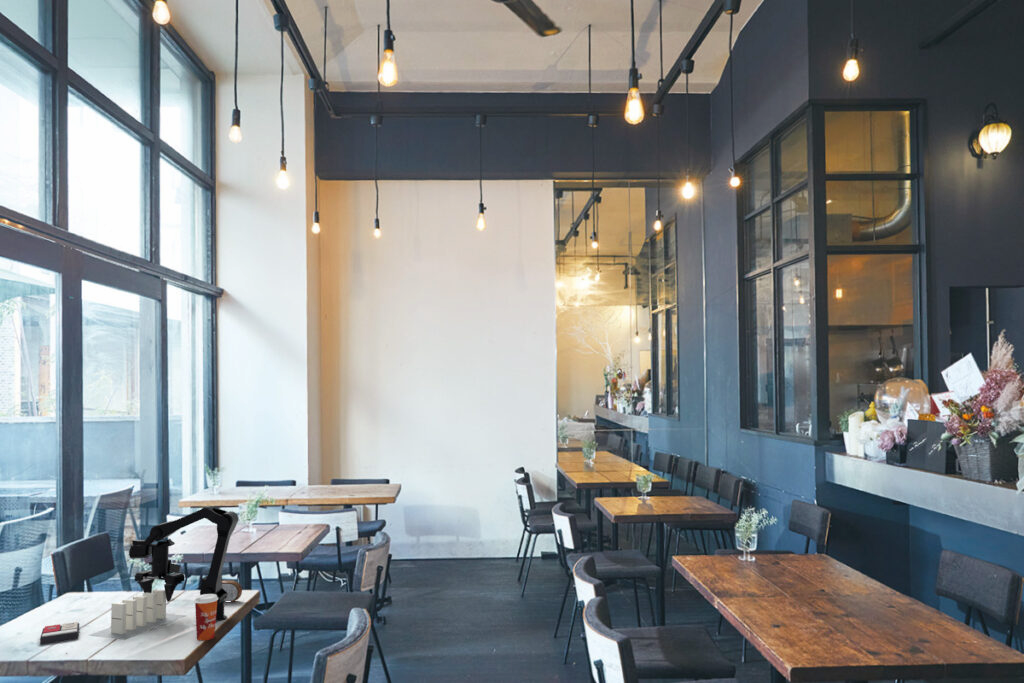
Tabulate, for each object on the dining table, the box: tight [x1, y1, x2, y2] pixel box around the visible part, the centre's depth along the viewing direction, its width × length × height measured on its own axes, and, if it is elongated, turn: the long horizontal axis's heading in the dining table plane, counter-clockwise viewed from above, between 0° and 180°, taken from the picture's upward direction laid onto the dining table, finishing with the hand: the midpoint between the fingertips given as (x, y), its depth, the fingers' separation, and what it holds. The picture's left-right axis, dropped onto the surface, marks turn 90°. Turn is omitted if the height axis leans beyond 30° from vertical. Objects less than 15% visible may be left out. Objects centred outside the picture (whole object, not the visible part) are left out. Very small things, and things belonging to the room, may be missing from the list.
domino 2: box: [121, 598, 137, 630], centre depth 257 cm, size 2×5×10 cm, turn 71°
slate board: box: [89, 612, 186, 641], centre depth 261 cm, size 28×16×1 cm, turn 161°
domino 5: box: [152, 588, 167, 619], centre depth 270 cm, size 2×5×10 cm, turn 71°
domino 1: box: [110, 601, 126, 634], centre depth 253 cm, size 2×5×10 cm, turn 71°
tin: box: [222, 579, 243, 603], centre depth 294 cm, size 15×3×8 cm, turn 84°
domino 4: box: [142, 592, 157, 622], centre depth 266 cm, size 2×5×10 cm, turn 71°
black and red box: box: [39, 621, 80, 646], centre depth 250 cm, size 11×4×15 cm
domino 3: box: [132, 595, 147, 626], centre depth 261 cm, size 2×5×10 cm, turn 71°
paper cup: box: [193, 594, 218, 642], centre depth 249 cm, size 8×8×14 cm
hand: (159, 600), depth 270 cm, fingers open, 9 cm apart
